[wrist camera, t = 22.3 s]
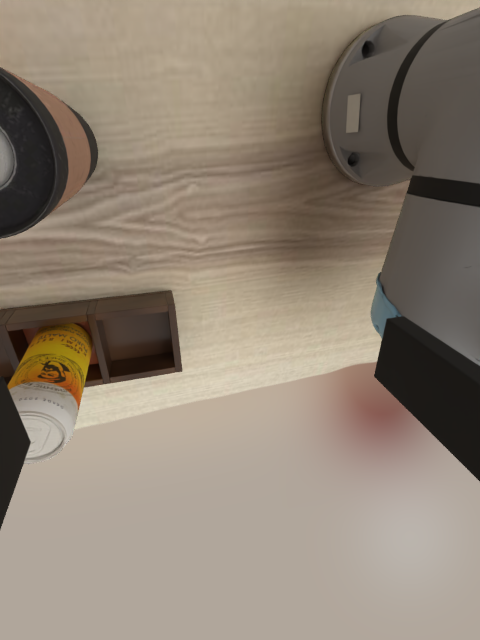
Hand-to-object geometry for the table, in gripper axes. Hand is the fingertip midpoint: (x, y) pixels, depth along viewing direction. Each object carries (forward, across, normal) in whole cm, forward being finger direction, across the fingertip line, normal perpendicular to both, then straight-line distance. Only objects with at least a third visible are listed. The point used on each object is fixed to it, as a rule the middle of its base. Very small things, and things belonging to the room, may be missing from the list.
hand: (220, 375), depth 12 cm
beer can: (+28, -13, -13) cm, 34 cm away
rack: (+29, -13, -13) cm, 34 cm away
